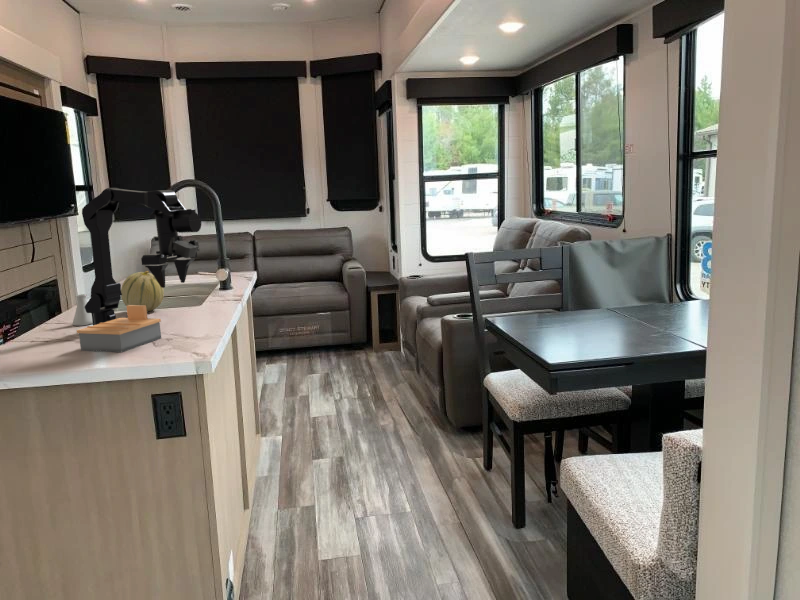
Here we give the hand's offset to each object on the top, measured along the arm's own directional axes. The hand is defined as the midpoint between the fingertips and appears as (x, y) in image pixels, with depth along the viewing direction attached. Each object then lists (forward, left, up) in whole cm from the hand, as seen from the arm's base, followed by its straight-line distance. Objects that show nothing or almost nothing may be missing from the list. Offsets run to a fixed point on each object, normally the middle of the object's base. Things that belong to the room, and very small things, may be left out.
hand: (173, 285), depth 190 cm
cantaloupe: (-36, +28, -15) cm, 48 cm away
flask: (-43, +7, -15) cm, 46 cm away
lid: (-7, -16, -10) cm, 20 cm away
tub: (-7, -16, -14) cm, 23 cm away
